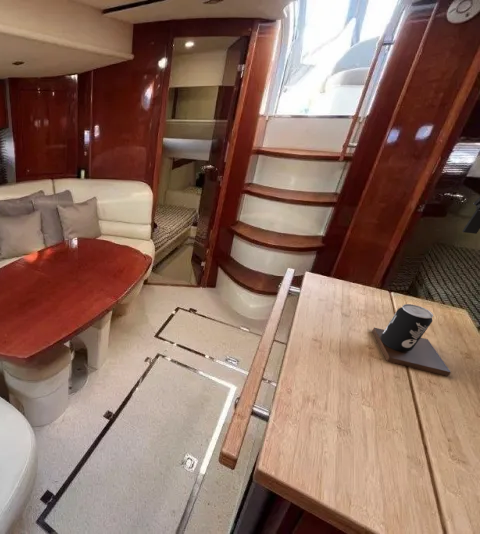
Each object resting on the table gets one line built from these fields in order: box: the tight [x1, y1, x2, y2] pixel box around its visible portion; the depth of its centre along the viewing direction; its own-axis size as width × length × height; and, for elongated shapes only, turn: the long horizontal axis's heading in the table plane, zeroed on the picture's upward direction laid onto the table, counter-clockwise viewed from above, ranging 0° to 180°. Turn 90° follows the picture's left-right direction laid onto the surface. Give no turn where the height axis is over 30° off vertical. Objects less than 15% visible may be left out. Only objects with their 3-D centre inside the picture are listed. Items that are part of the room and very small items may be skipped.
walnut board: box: [371, 327, 452, 377], centre depth 84 cm, size 12×13×2 cm
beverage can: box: [381, 303, 434, 352], centre depth 82 cm, size 7×7×12 cm
